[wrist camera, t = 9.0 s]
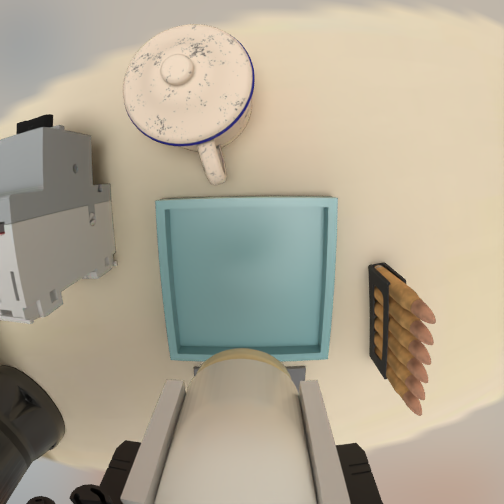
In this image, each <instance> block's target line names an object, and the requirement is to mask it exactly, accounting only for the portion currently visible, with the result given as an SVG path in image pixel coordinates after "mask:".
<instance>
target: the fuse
mask: <svg viewBox="0 0 504 504" xmlns="http://www.w3.org/2000/svg"><path fill="white" fill-rule="evenodd" d="M154 504H317V499H316V493H315V487H314V481H313V475H312V469H311V463H310V457H309V451H308V445H307V440H306V434H305V428H304V423H303V417H302V411H301V406H300V400H299V395H298V391H297V388H296V386H295V385H294V383H293V382H292V380H291V377H290V374H289V372H288V371H287V369H286V368H285V366H284V365H283V364H282V363H281V362H280V361H279V360H277V359H276V358H275V357H273V356H271V355H269V354H267V353H265V352H262V351H258V350H254V349H247V348H237V349H229V350H225V351H222V352H219V353H217V354H215V355H213V356H211V357H210V358H209V359H207V360H206V361H205V362H204V363H203V364H202V365H201V367H200V368H199V370H198V372H197V374H196V376H195V377H194V378H193V379H192V381H191V382H190V384H189V386H188V389H187V392H186V396H185V399H184V402H183V406H182V409H181V412H180V416H179V419H178V422H177V426H176V429H175V433H174V436H173V439H172V443H171V446H170V450H169V453H168V457H167V460H166V464H165V467H164V471H163V474H162V478H161V481H160V485H159V488H158V492H157V496H156V499H155V503H154Z"/></svg>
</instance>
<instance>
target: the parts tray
mask: <svg viewBox="0 0 504 504" xmlns="http://www.w3.org/2000/svg"><path fill="white" fill-rule="evenodd" d="M155 204H156V223H157V238H158V252H159V264H160V275H161V286H162V295H163V304H164V313H165V321H166V329H167V337H168V344H169V351H170V358H171V360H181V361H206V360H207V359H209V358H210V357H211V356H213V355H215V354H217V353H219V352H222V351H225V350H229V349H237V348H247V349H254V350H258V351H262V352H265V353H267V354H269V355H271V356H273V357H275V358H276V359H277V360H279V361H303V360H322V359H328V352H329V342H330V332H331V321H332V309H333V295H334V280H335V263H336V241H337V206H338V198H336V197H332V196H227V197H193V198H169V199H160V200H156V201H155Z"/></svg>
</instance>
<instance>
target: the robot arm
mask: <svg viewBox="0 0 504 504" xmlns="http://www.w3.org/2000/svg"><path fill="white" fill-rule="evenodd" d="M185 396H186V392H185V386H184V380H168V379H167V380H166V383H165V385H164V388H163V390H162V392H161V395H160V397H159V400H158V402H157V405H156V407H155V410H154V412H153V415H152V417H151V420H150V422H149V425H148V427H147V430H146V432H145V435H144V438H143V440H142V443H139V442H133V441H126V440H125V441H124V442H123V443H122V444H121V445H120V446H119V447H117V448H116V451H115V453H114V455H113V457H112V460H111V461H110V464H109V468H107V470H106V473H105V475H104V477H103V480H102V482H101V484H100V486H96V485H82V486H80V487H77V488H76V489H75V490H74V491H73V492H72V493H71V496H70V499H71V501H72V502H73V503H74V504H154V503H155V499H156V496H157V492H158V488H159V485H160V481H161V478H162V474H163V471H164V467H165V464H166V460H167V457H168V453H169V450H170V446H171V443H172V439H173V436H174V433H175V429H176V426H177V422H178V419H179V416H180V412H181V409H182V406H183V402H184V399H185ZM299 400H300V406H301V411H302V417H303V423H304V428H305V434H306V440H307V445H308V451H309V457H310V463H311V469H312V475H313V481H314V487H315V493H316V499H317V504H383V503H382V500H381V497H380V495H379V491H378V489H377V486H376V483H375V480H374V477H373V474H372V473H371V468H370V465H369V464H368V459H367V457H366V454H365V451H364V450H363V449H362V448H361V447H360V446H359V445H358V444H357V443H352V444H344V445H335V441H334V438H333V434H332V430H331V427H330V423H329V419H328V416H327V412H326V408H325V405H324V401H323V398H322V394H321V390H320V387H319V383H318V380H310V381H300V387H299ZM64 432H65V428H64V423H63V419H62V417H61V415H60V413H59V411H58V409H57V407H56V406H55V404H54V403H53V402H52V400H51V399H50V398H49V396H48V395H47V394H46V393H45V392H44V391H43V390H42V389H41V388H40V387H39V386H38V385H37V384H36V383H35V382H34V381H33V380H32V379H30V378H29V377H28V376H26V375H25V374H23V373H22V372H20V371H18V370H17V369H14V368H12V367H9V366H0V504H6V503H7V501H8V500H9V498H10V496H11V494H12V493H13V491H14V490H15V488H16V487H17V485H18V483H19V482H20V480H21V479H22V477H23V475H24V474H25V472H26V471H27V469H28V468H29V466H30V465H31V463H32V462H33V461H34V460H36V459H38V458H39V457H41V456H42V455H43V454H45V453H46V452H47V451H48V450H51V449H53V448H55V447H56V446H57V445H58V443H59V442H60V440H61V439H62V437H63V435H64ZM27 504H55V502H54V501H52V500H51V499H49V498H47V497H43V496H39V497H34V498H32V499H30V500H29V501H28V503H27Z"/></svg>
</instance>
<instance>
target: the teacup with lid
mask: <svg viewBox="0 0 504 504" xmlns="http://www.w3.org/2000/svg"><path fill="white" fill-rule="evenodd" d="M253 89H254V69H253V65H252V62H251V59H250V57H249V55H248V53H247V51H246V50H245V48H244V47H243V46H242V45H241V43H240V42H239V41H238V40H237V39H235V38H234V37H233V36H231V35H230V34H228V33H226V32H225V31H223V30H220V29H218V28H215V27H212V26H208V25H200V24H189V25H181V26H177V27H173V28H170V29H168V30H165V31H163V32H161V33H159V34H157V35H156V36H154V37H153V38H151V39H150V40H149V41H147V42H146V43H145V44H144V45H143V46H142V47H141V48H140V49H139V50H138V52H137V53H136V54H135V56H134V57H133V59H132V60H131V62H130V64H129V66H128V68H127V71H126V74H125V78H124V84H123V98H124V104H125V107H126V111H127V113H128V115H129V117H130V119H131V121H132V122H133V124H134V125H135V126H136V127H137V128H138V129H139V130H140V131H141V132H142V133H143V134H144V135H146V136H147V137H149V138H151V139H152V140H155V141H157V142H159V143H162V144H166V145H171V146H180V147H182V148H185V149H188V150H192V151H199V155H200V159H201V162H202V165H203V168H204V171H205V174H206V176H207V178H208V180H209V182H210V183H211V184H213V185H218V184H221V183H224V182H225V181H226V178H227V173H226V167H225V162H224V158H223V154H222V151H221V147H224V146H226V145H227V144H229V143H231V142H232V141H233V140H235V139H236V138H237V137H238V136H239V135H240V134H241V132H242V131H243V130H244V128H245V127H246V125H247V123H248V121H249V118H250V115H251V108H252V98H251V97H252V94H253Z"/></svg>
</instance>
